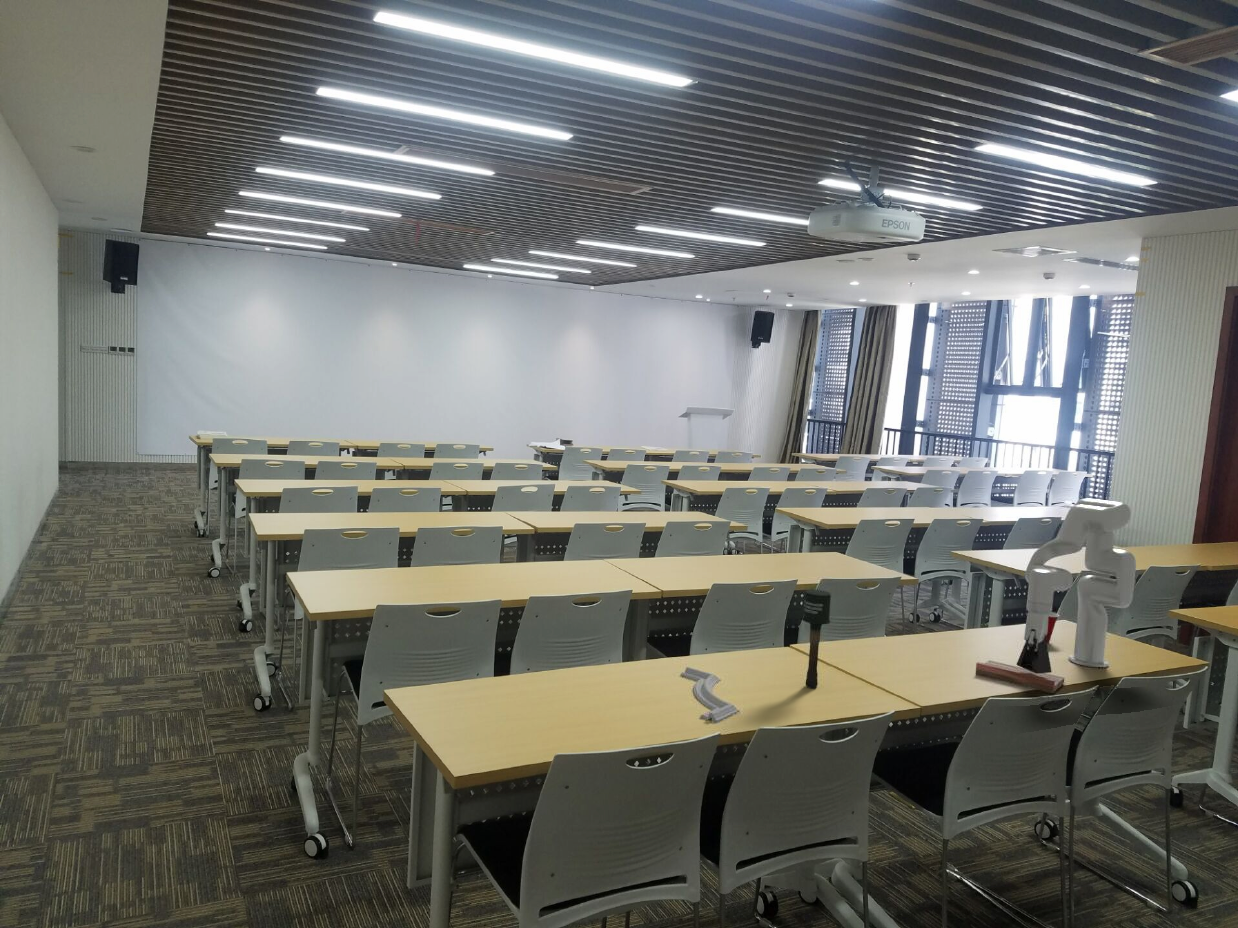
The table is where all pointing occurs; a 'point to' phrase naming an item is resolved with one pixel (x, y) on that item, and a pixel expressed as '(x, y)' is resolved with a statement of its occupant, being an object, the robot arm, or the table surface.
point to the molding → (709, 695)
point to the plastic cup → (1051, 624)
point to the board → (1020, 682)
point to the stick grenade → (815, 627)
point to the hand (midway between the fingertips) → (1034, 659)
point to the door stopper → (1038, 664)
